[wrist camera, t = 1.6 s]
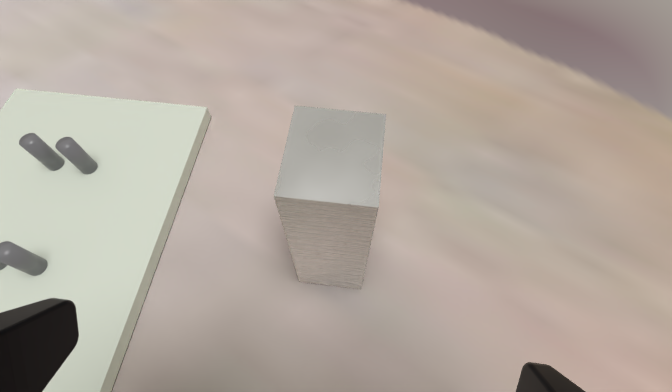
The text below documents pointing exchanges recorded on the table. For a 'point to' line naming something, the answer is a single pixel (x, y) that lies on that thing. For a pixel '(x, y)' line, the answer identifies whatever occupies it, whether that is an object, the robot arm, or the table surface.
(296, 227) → the block
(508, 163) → the table surface
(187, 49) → the table surface
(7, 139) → the pin tray
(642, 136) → the table surface
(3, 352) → the robot arm
